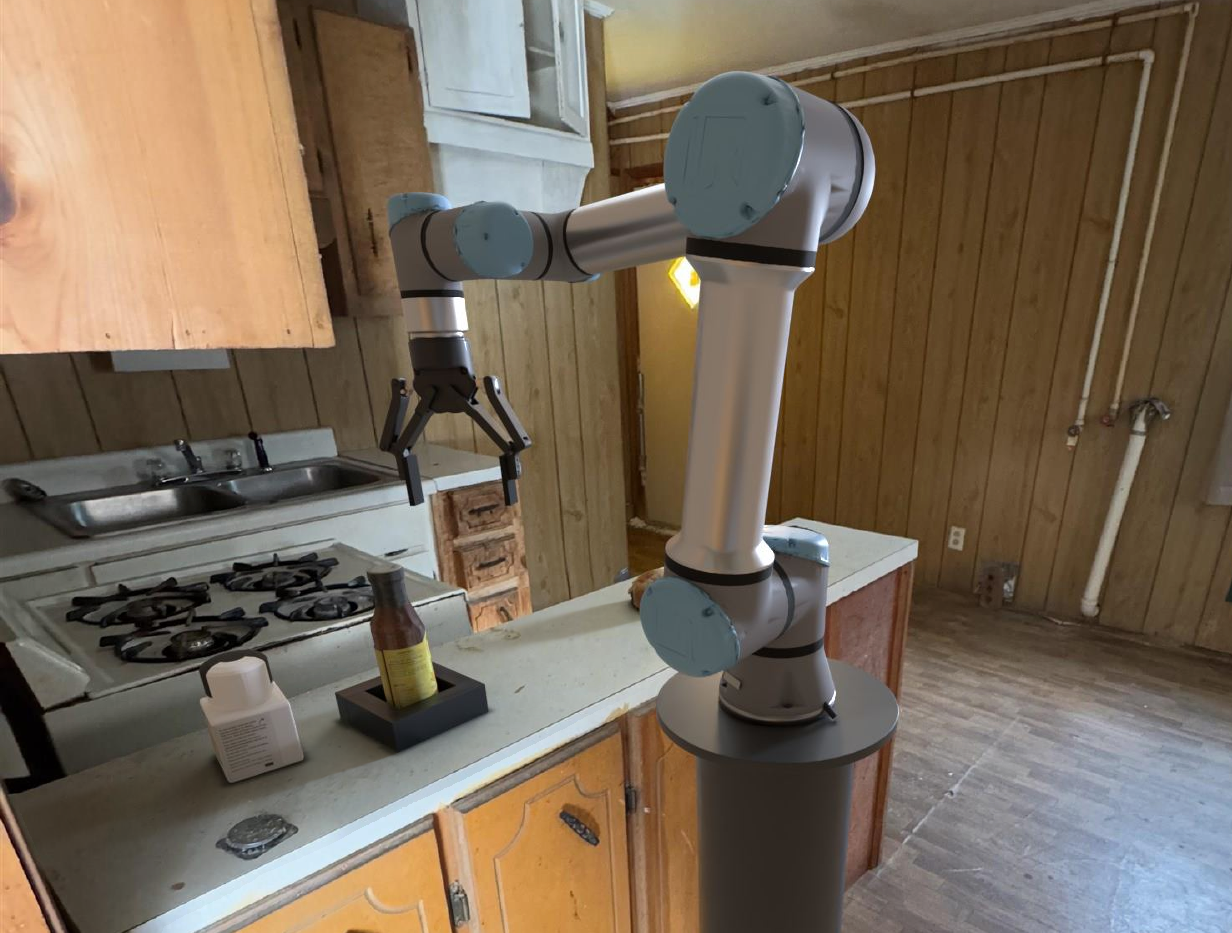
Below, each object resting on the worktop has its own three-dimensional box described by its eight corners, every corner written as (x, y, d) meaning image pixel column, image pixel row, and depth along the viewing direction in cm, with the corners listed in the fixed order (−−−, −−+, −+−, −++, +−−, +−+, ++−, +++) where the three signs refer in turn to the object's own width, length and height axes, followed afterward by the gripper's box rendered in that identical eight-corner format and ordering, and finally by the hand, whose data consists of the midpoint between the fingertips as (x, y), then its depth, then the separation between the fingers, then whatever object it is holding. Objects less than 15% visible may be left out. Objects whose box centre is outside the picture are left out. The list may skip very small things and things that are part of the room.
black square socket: (488, 711, 101) (485, 683, 100) (397, 752, 92) (392, 723, 90) (430, 684, 109) (426, 658, 107) (340, 720, 99) (334, 692, 98)
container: (216, 756, 91) (184, 655, 86) (288, 735, 96) (262, 637, 90) (229, 785, 86) (196, 678, 80) (305, 761, 90) (279, 658, 85)
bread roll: (657, 634, 134) (672, 599, 129) (613, 601, 137) (626, 564, 132) (689, 617, 142) (704, 582, 137) (647, 585, 144) (661, 550, 140)
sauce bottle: (452, 710, 102) (428, 563, 94) (416, 731, 96) (388, 579, 88) (414, 700, 104) (387, 557, 96) (377, 721, 99) (346, 571, 91)
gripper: (543, 333, 100) (560, 498, 108) (363, 338, 103) (392, 499, 111) (522, 333, 93) (542, 509, 101) (329, 339, 97) (363, 509, 104)
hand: (464, 504), depth 106 cm, fingers open, 13 cm apart
